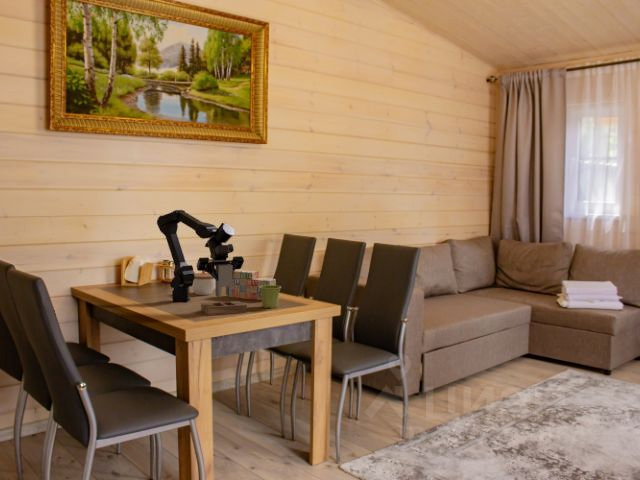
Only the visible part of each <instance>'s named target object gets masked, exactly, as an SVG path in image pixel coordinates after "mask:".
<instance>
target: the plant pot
mask: <svg viewBox="0 0 640 480" xmlns="http://www.w3.org/2000/svg"><path fill="white" fill-rule="evenodd" d="M259 288H260V291H261V298H262V300H261V304H262V307H263V308H266V309H268V308H270V309H273V308H274V309H275V308H277V307H278V302H279V295H280V292H281V289H282V286H281V285H276V286H275V285H264V286H259Z"/></svg>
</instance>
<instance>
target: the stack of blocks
mask: <svg viewBox="0 0 640 480" xmlns="http://www.w3.org/2000/svg"><path fill="white" fill-rule="evenodd" d="M276 280H277V279H276V278H269V277H259V271H258V270H246V269H245V270H243V269H235V271H234V274H233V280H232V296H228V298H234V297H235V299H243V298H244V299H246V300H257V301H262V298H261V291H260V288H259V286H264V285H275V286H277V281H276Z"/></svg>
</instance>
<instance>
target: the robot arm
mask: <svg viewBox="0 0 640 480" xmlns="http://www.w3.org/2000/svg"><path fill="white" fill-rule="evenodd" d="M180 223H182V224H183V225H185V226H187V227H188V228H190V229H192V230H193V231H194V232H195V234H196V235H197V236H198V237H199V238H200V239H202V240H205V239H208V240H207V241H206V243H205V245H204V247H205V248H208V249H209V253H210V255H209V256H208V257H207V256H205V257H199V258H198V260H197V263H196V270H197V271H198V272H202V271H205V273H209V274H210V275H211V276H212V277H213V278H214V279H215V280H216V281H218V276H217V273H216V265H218V264H230V265H233V273H232V280H233V274H234V271H235V270H242V267H243V265H244V263H245V259H244V257H243V256H239V255H238V256H233V257H232V259H230V260H229V259H228V258H229V254H230V253H233V252H234V250H235V249H234V245H233V244H232V243H228V244H227V242H229V241H230V239H232V238H233V236H234V235H235V233H236V232H235V229H234V227H232V226H230V225H229V224H227V222H221V223H220V225H219V227H217V226H216V225H215V224H212V223H209V222H204V221H201V220H200V219H198V218H196V217H194V216H193V215H191V214H189V213H187V212H186V211H185V210H183V209H174V210H172V212H169V213H166V214H164V215H159V216H158V217H157V220H156V224H157V228H158V229H159V231H160V233H162V235H163V236H165V239H166V242H167V245H168V249H169V252H170V255H171V258H172V261H173V264H174V270H173V278H172V279H171V280H170V282H169V286H170V288H171V289H173V290H172V295H171V296H172V298H171V299H172V302H175V303H177V302H178V303H187V302H190V301H191V298H190V287H191V286H192V285H193V281H194V278H195V275H194V274H195V273H196V272H195V271H194V266H193V265H192V264H188V263H187V261H186V258H185V256H184V252H183V250H182V249H183V248H182V246H181V243H180V240H179V237H178V233H177V232H178V227H179V225H178V224H180ZM210 258H211V259H210Z"/></svg>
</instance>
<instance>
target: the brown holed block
mask: <svg viewBox="0 0 640 480" xmlns="http://www.w3.org/2000/svg"><path fill="white" fill-rule="evenodd" d="M200 311H201V312H203V313H204V314H206V315H208V316H215V315H228V314H242V313H248V304H246V303H243V302H242V301H239V300H234V301H217V302H215V301H214V302H202V303H200Z"/></svg>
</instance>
